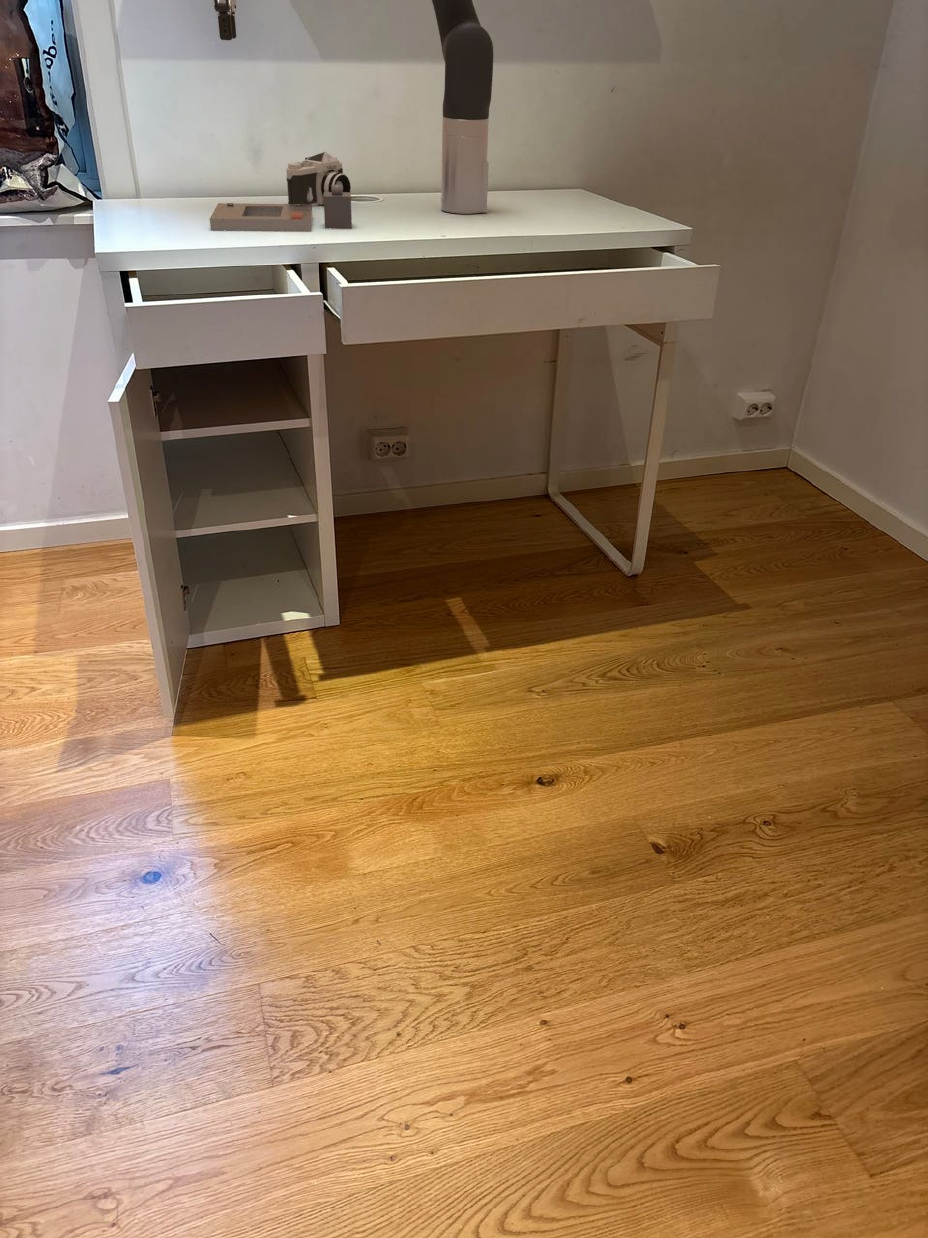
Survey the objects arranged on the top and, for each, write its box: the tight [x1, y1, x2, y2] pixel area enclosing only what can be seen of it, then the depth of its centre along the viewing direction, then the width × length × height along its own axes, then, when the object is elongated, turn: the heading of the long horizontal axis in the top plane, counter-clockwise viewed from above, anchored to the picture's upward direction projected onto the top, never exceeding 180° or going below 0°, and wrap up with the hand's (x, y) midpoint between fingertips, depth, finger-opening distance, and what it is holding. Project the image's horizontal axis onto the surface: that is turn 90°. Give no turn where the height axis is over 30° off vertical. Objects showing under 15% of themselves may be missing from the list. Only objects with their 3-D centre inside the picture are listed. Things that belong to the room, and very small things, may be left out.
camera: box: [285, 151, 352, 207], centre depth 194 cm, size 16×9×10 cm, turn 146°
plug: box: [323, 185, 353, 230], centre depth 175 cm, size 5×4×8 cm
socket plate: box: [209, 202, 314, 233], centre depth 176 cm, size 18×15×3 cm
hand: (228, 38), depth 174 cm, fingers open, 8 cm apart
